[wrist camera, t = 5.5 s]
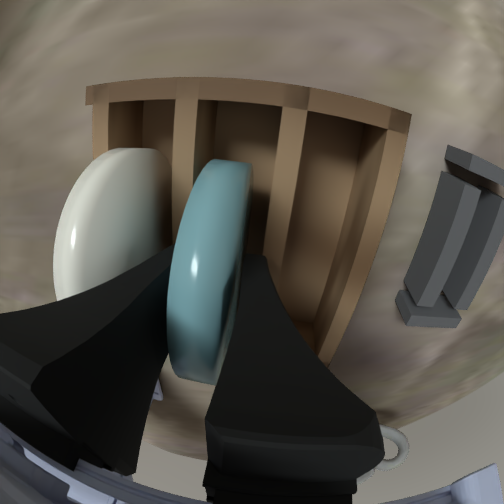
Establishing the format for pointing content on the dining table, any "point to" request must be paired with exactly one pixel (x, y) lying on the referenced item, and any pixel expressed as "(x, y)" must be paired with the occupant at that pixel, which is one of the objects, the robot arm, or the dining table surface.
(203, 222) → the teal plate
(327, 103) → the walnut rack
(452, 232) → the rubber holder
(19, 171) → the dining table surface
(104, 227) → the racked cream plate
